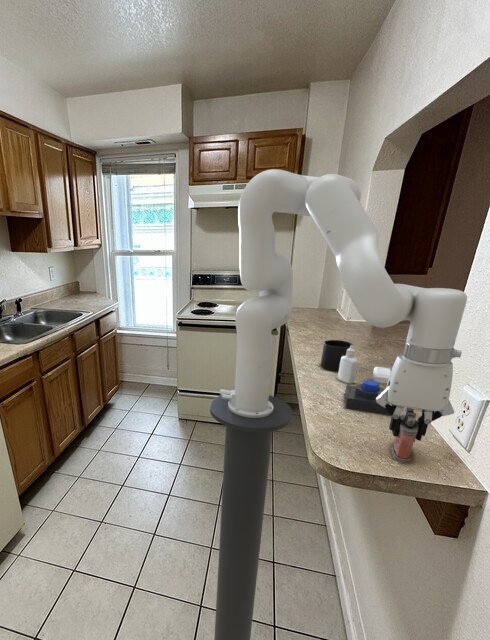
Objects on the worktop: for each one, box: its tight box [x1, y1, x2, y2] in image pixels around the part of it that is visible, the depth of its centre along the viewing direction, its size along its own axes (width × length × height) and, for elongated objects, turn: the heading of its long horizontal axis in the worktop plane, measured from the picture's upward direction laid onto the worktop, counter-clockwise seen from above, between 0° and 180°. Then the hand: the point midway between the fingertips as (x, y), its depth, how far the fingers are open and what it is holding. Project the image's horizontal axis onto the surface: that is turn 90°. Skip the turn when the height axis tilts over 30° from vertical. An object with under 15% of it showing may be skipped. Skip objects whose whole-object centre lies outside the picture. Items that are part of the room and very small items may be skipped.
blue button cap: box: [361, 379, 380, 392], centre depth 97 cm, size 4×4×2 cm
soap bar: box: [372, 366, 392, 385], centre depth 117 cm, size 5×9×3 cm, turn 152°
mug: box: [320, 339, 354, 373], centre depth 124 cm, size 9×12×9 cm
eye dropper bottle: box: [337, 344, 359, 385], centre depth 113 cm, size 4×6×12 cm
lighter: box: [391, 407, 419, 464], centre depth 75 cm, size 8×3×10 cm, turn 151°
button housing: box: [344, 383, 393, 417], centre depth 98 cm, size 11×10×5 cm
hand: (405, 434), depth 75 cm, fingers closed on lighter, 3 cm apart
